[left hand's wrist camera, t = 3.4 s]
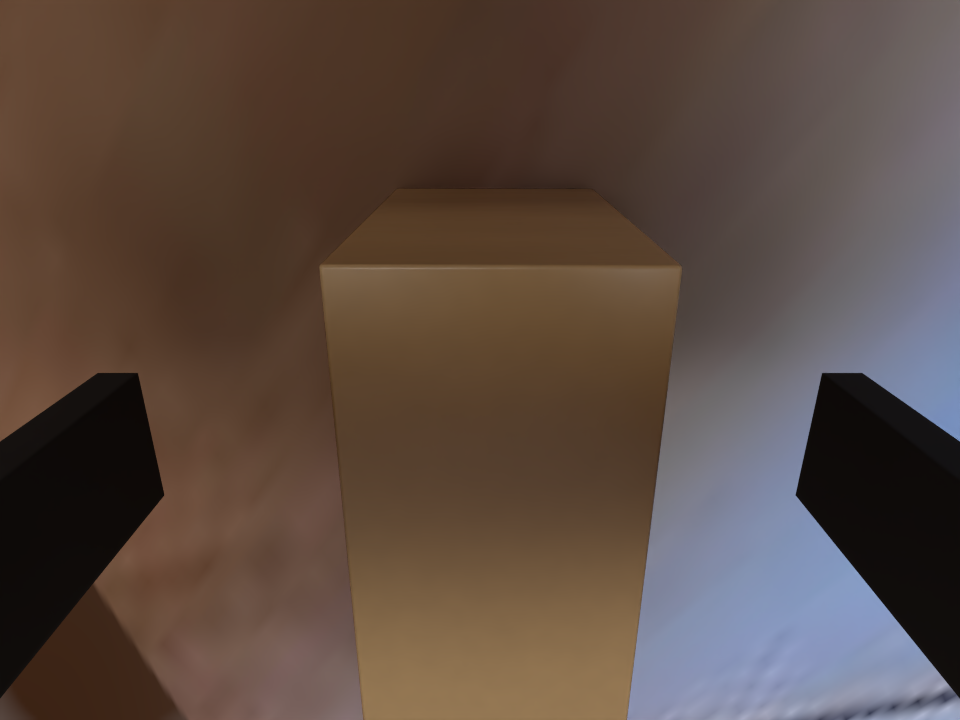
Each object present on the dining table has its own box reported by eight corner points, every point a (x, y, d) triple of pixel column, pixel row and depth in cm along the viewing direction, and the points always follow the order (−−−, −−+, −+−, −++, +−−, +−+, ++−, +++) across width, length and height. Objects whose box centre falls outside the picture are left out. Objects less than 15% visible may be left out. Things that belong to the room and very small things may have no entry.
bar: (396, 188, 16) (317, 264, 8) (593, 188, 16) (684, 265, 8) (427, 841, 25) (403, 1137, 18) (550, 842, 25) (575, 1141, 18)
